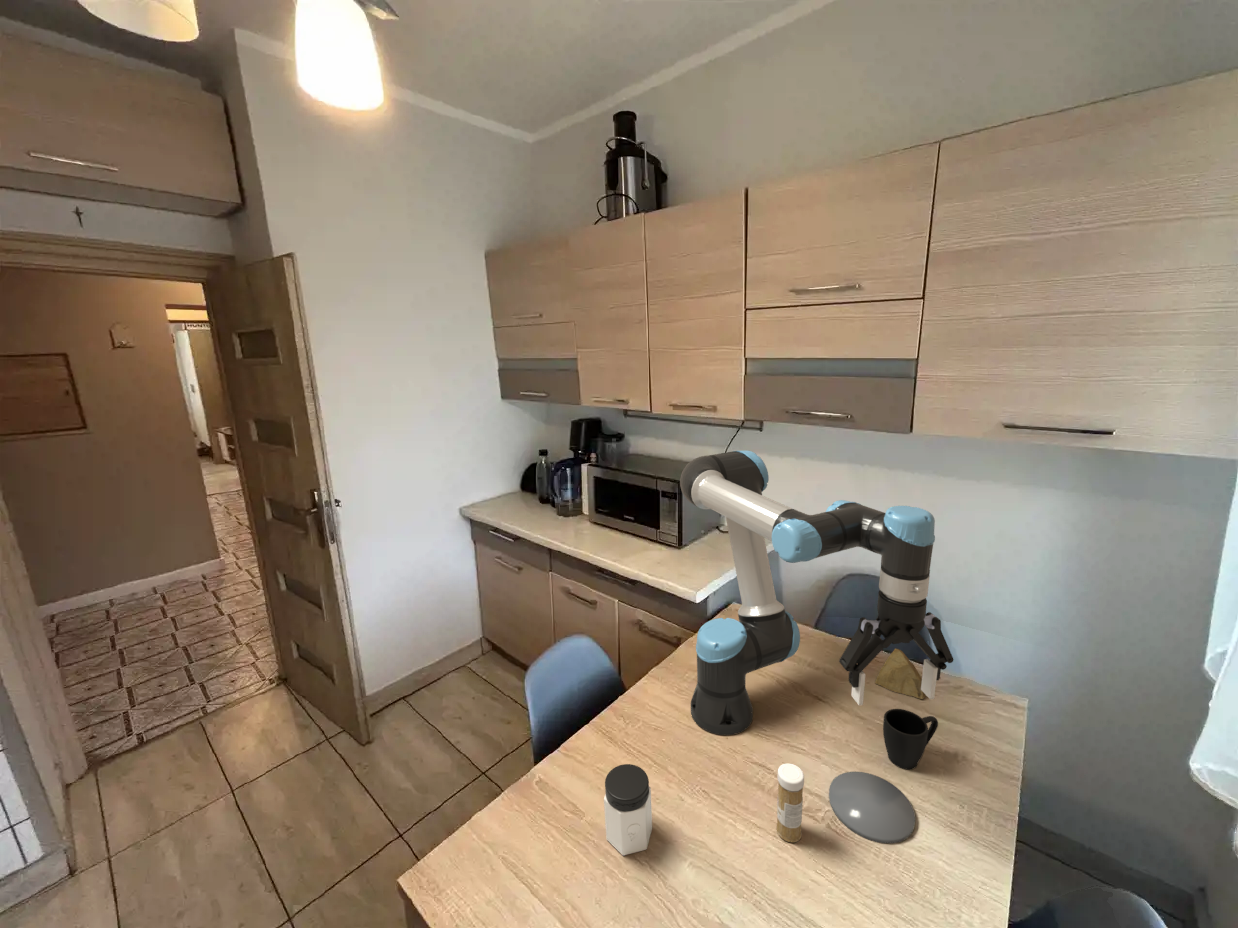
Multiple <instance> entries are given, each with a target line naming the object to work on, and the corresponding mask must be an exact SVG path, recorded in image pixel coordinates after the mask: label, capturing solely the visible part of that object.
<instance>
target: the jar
mask: <svg viewBox="0 0 1238 928" xmlns="http://www.w3.org/2000/svg"><path fill="white" fill-rule="evenodd" d="M604 787H605V789H604V790H605V794H604V797H603V805H604V806H603V807H604V822H605V823H604V824H605V836H606V837H605V839H606V841H608V843H609V844H610V845H612V846H613V847H614V848H615V849H616V851H618V853H620V855H622V856H627V855H630V854H634V853H639V852H641V851H643V852H644V851H645V850H647V849H648V845H649V843H650V838H651V835H652V831H653V814H652V813H653V812H652V811H653V810H652V792H651V791H652V788H651V786H650V782H649V777H648V775H647V773H646V771H645V769H643V768H641V767H640V766H638V765H635V764H631V763H629V764H628V763H625V764H624V763H623V764H619V765H617V766H615V767H613V768H612V769H611V770H610V771H609V772H608V773H607V775H606V777H605V780H604Z"/></svg>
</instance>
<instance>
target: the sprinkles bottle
mask: <svg viewBox="0 0 1238 928" xmlns="http://www.w3.org/2000/svg"><path fill="white" fill-rule="evenodd" d="M777 781H778V782H777V783H778V787H777V788H778V790H777V804H776V805H777V809H776V810H777V811H776V815H777V818H776V819H777V820H776V821H777V822H776V828H775V829H776V833H777V834H778V836H779V837H780V839H782V840H783V841H785V842H788V843H797V842H799V841H800V839H801V838H802V822H803V821H802V820H803V800H804V799H803V798H804V797H803V795H804V794H803V790H804V786H805V774H804V771H803V769H801V768H800V767H799V766H798V765H796V764H793V763H783V764H781V765H779V767H778V769H777Z"/></svg>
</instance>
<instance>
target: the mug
mask: <svg viewBox="0 0 1238 928" xmlns="http://www.w3.org/2000/svg"><path fill="white" fill-rule="evenodd" d="M929 723H930V725H929V727H928V724H929ZM882 724H883V725H882V732H883V740H884V745H885V746H884V747H885V750H886V752H887V758H888V760H889V761H890V762H891V763H892V764H893V765H894V766H896V767H898V768H900V769H903V770H909V771H910V770H914V769H916V767H917V766H918V763H919V762H920V760H921V758H922V757H923V754H924V753H925V750H926V747H927V745H928V744H929V743H930V741H931V739H932V738H933V736H934V735H935V733H936V731H937V729H938V727H939V722H938V719H937V717H935V716H934V715H933V716H932V715H927V716H924V717H921V716H920V715H918V714H916V713H914V712H912V711H910V710H906V709H904V708H891V709H888V710H887V711H885V713H884V715H883V723H882Z"/></svg>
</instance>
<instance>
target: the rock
mask: <svg viewBox="0 0 1238 928" xmlns="http://www.w3.org/2000/svg"><path fill="white" fill-rule="evenodd" d="M875 679H876V680H875V681H874V684H875V685H879V686H881V687H883V688H885V690H889V691H892V692H895V693H898V694H903V695H905V696H909V697H914V698H917V699H919V700H920V699H921V700H924V699H926V697H927V696H926V695H925V694H924V692H923V691H922V690H921V683H922V677H921V674H920V673H919V672H918V670H917V668H916V666H915V665H914V663H912V662H911V660H910V659H909V658H908V657H907V655H906V654H905V653H904V651H902V650H901V649H899V648H894V649H893V650H892V652H891V653H890V654H889V656H888V657H887V659H886V661H885V662H884V664H883V665H882V667H881V668H880V669H879V672H878V675H877V677H876V678H875Z"/></svg>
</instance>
